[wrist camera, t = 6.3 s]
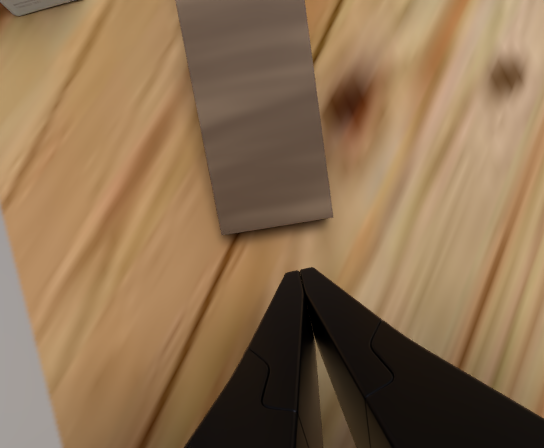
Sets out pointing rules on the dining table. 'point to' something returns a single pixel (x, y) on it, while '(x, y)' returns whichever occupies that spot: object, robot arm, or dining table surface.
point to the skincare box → (30, 5)
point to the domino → (257, 110)
